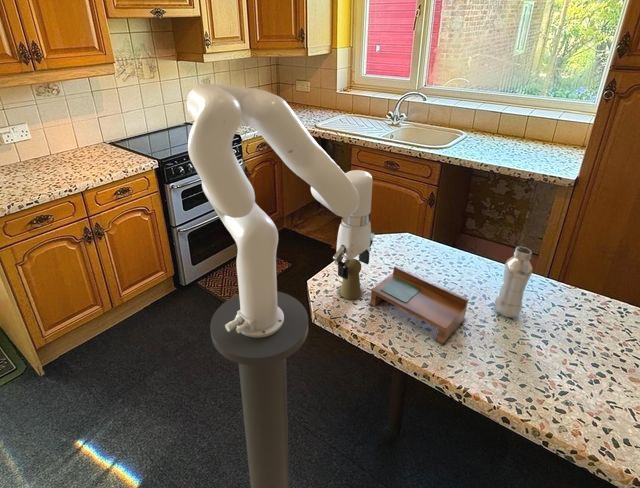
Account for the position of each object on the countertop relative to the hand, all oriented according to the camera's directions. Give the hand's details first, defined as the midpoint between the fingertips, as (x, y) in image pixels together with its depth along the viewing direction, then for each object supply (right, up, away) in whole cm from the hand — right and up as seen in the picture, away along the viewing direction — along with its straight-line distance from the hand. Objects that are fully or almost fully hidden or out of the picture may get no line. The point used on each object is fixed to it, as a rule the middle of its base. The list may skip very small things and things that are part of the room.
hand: (353, 269), depth 113 cm
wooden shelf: (+17, -11, -4) cm, 20 cm away
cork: (-1, -8, +3) cm, 8 cm away
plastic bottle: (+41, -11, -4) cm, 43 cm away
